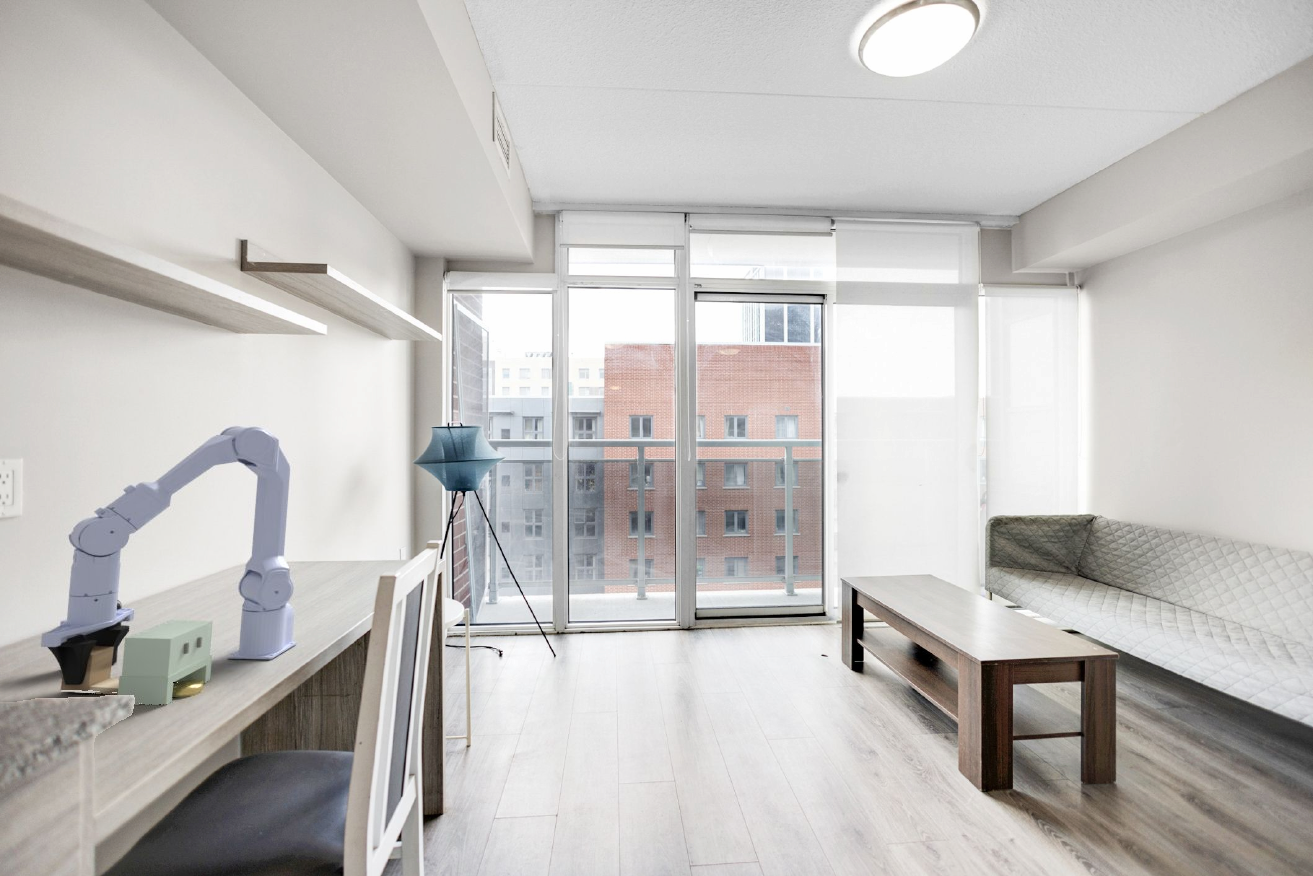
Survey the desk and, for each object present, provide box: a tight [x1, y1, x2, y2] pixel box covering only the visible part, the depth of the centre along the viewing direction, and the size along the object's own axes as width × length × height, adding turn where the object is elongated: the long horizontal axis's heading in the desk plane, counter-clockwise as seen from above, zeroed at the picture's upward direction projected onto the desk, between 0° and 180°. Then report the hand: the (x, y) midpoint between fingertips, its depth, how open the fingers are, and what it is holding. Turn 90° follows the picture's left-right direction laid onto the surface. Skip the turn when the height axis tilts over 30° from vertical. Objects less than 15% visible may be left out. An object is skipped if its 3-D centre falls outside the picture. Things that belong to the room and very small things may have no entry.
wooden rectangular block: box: [60, 646, 119, 696], centre depth 94 cm, size 14×4×6 cm, turn 95°
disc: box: [172, 680, 205, 698], centre depth 94 cm, size 4×4×1 cm
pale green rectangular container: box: [117, 619, 213, 706], centre depth 94 cm, size 7×10×10 cm
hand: (86, 678), depth 93 cm, fingers closed on wooden rectangular block, 4 cm apart
